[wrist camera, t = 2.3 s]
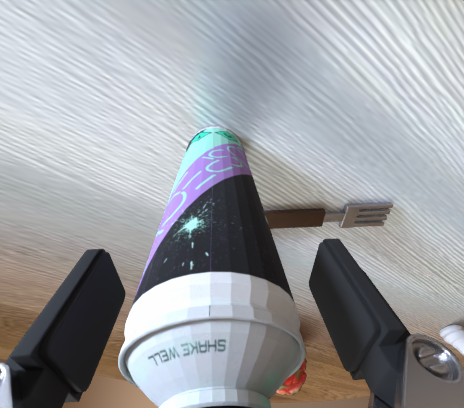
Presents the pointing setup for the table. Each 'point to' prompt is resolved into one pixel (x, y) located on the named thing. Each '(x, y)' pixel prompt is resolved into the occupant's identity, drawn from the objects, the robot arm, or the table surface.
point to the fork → (329, 216)
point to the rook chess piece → (454, 336)
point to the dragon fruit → (294, 381)
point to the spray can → (212, 292)
